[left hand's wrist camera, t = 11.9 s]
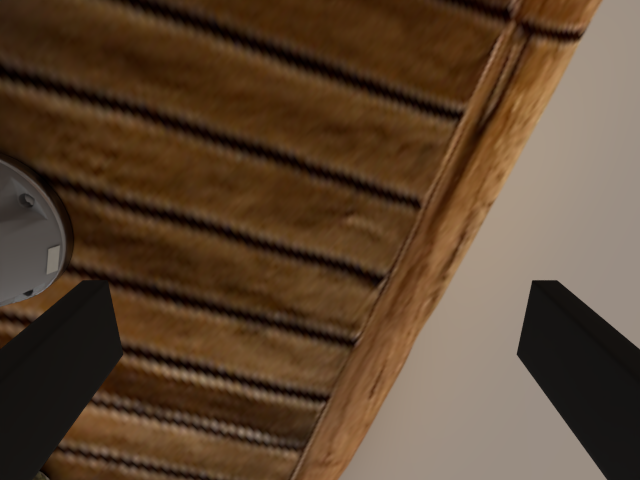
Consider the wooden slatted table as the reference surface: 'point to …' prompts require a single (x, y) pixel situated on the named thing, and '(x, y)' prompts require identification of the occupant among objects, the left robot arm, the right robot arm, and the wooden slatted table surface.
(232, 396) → the wooden slatted table surface
